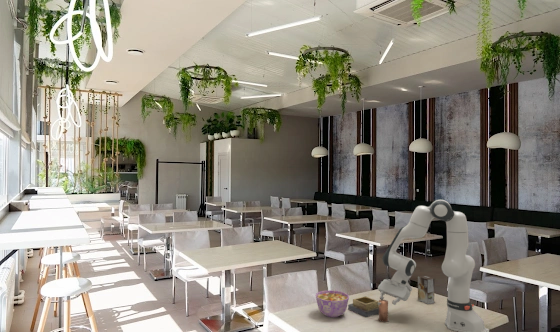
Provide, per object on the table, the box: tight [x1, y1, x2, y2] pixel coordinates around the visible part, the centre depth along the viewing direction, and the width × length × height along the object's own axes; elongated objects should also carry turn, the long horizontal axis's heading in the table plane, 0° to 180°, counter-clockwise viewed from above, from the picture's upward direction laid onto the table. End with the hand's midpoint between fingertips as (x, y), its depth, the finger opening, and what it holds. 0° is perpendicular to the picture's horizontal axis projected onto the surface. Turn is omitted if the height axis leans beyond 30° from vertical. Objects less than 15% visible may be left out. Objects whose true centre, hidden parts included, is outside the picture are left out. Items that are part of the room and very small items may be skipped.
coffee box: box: [417, 274, 435, 305], centre depth 256 cm, size 9×6×16 cm
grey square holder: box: [347, 296, 379, 318], centre depth 238 cm, size 15×15×6 cm
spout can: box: [377, 299, 389, 323], centre depth 223 cm, size 5×7×11 cm
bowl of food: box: [315, 289, 350, 318], centre depth 231 cm, size 20×20×12 cm
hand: (387, 301), depth 226 cm, fingers open, 8 cm apart
